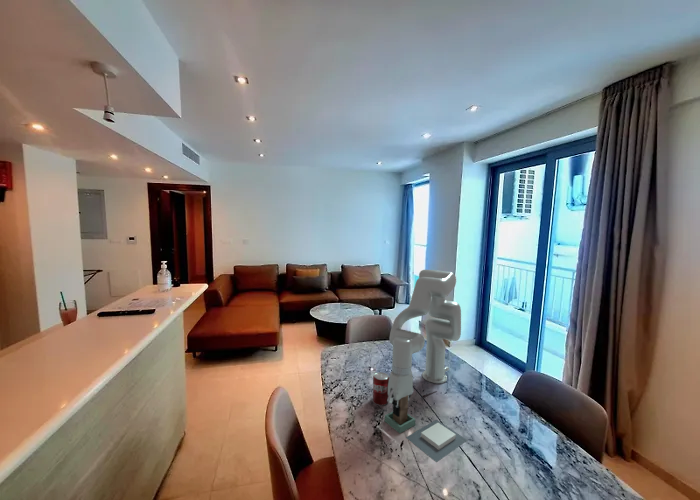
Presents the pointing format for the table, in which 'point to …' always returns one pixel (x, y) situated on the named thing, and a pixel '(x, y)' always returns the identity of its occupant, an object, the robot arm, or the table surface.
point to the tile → (438, 435)
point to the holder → (397, 426)
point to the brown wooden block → (402, 411)
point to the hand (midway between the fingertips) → (400, 412)
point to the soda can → (380, 388)
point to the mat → (429, 448)
